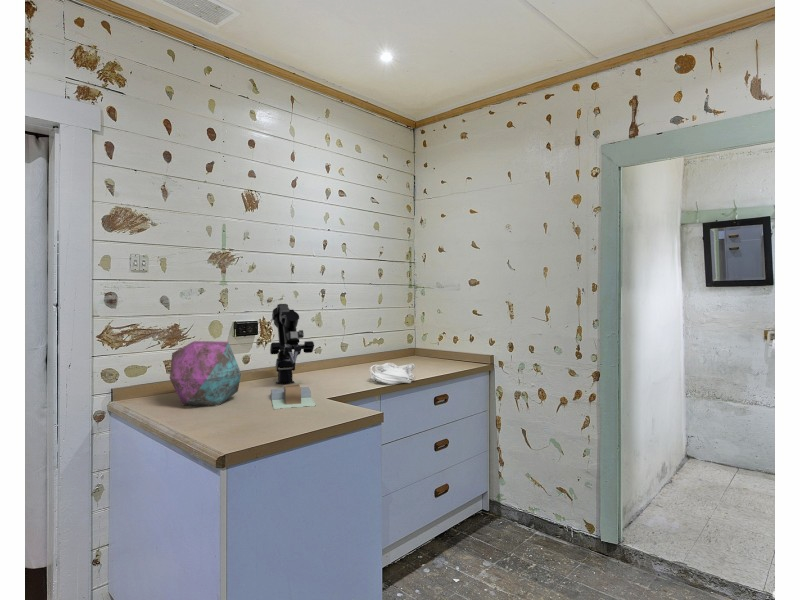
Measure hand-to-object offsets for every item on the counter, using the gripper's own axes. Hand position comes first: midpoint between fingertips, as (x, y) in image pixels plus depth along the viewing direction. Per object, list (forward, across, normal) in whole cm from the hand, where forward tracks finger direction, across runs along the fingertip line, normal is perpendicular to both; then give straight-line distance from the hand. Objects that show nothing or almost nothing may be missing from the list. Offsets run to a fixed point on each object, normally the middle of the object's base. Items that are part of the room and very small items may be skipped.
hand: (294, 363), depth 209 cm
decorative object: (+11, -36, +8) cm, 38 cm away
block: (+14, -3, -1) cm, 14 cm away
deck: (+13, -2, +6) cm, 14 cm away
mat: (+21, -3, -3) cm, 21 cm away
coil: (+3, +50, +18) cm, 54 cm away
